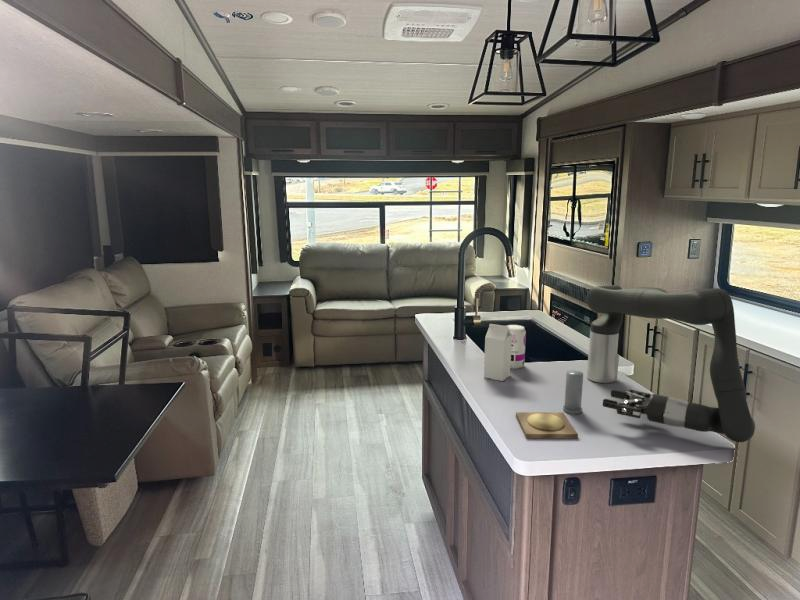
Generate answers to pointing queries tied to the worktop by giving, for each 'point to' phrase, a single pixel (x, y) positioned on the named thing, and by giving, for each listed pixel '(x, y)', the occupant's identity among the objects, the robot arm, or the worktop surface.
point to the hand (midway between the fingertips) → (607, 397)
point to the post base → (545, 425)
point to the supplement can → (517, 346)
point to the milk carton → (497, 352)
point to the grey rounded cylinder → (573, 392)
